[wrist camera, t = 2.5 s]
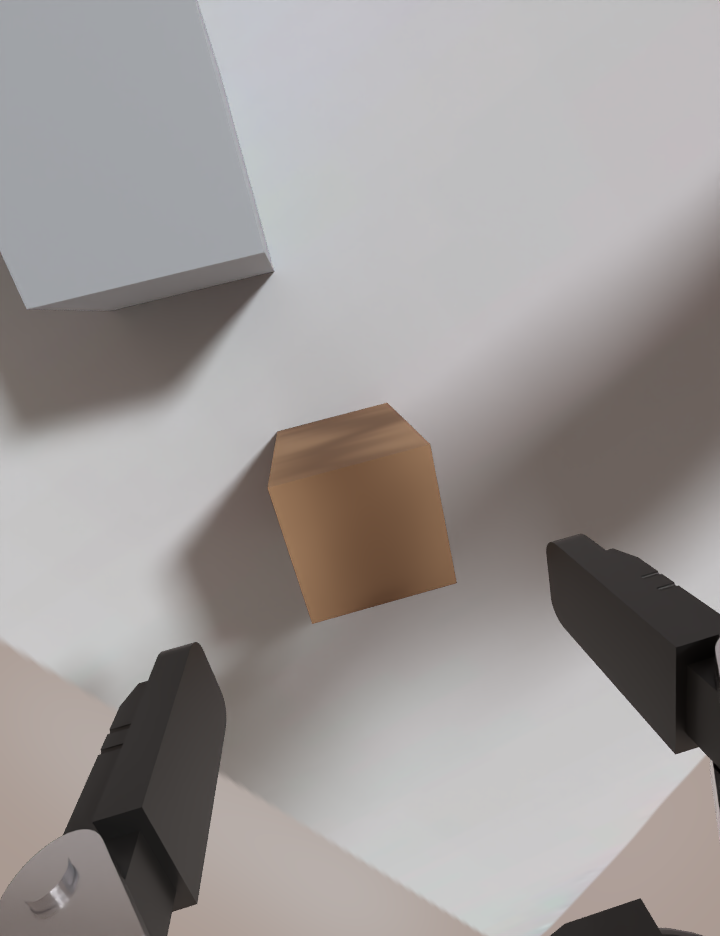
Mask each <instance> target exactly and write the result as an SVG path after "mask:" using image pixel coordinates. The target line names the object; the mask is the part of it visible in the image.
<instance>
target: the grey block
mask: <svg viewBox="0 0 720 936" xmlns="http://www.w3.org/2000/svg"><path fill="white" fill-rule="evenodd" d="M0 252H1V254H2V257H3V259H4V261H5V263H6V265H7V268H8V270H9V272H10V274H11V276H12V279H13V281H14V283H15V285H16V287H17V289H18V292H19V294H20V296H21V298H22V300H23V303H24V305H25V307H26V309H34V310H89V311H113V310H117V309H121V308H125V307H129V306H133V305H137V304H141V303H146V302H150V301H154V300H158V299H162V298H166V297H170V296H174V295H178V294H183V293H187V292H191V291H195V290H199V289H203V288H207V287H211V286H216V285H220V284H224V283H228V282H232V281H236V280H240V279H244V278H249V277H253V276H257V275H261V274H265V273H269V272H273V271H274V268H273V264H272V261H271V257H270V253H269V250H268V246H267V242H266V239H265V235H264V231H263V228H262V224H261V220H260V217H259V213H258V209H257V206H256V202H255V198H254V195H253V191H252V187H251V184H250V180H249V176H248V173H247V169H246V166H245V162H244V158H243V155H242V151H241V147H240V144H239V140H238V136H237V133H236V129H235V125H234V122H233V118H232V114H231V111H230V107H229V103H228V100H227V96H226V92H225V89H224V85H223V81H222V78H221V74H220V71H219V67H218V64H217V61H216V58H215V55H214V52H213V49H212V45H211V42H210V39H209V36H208V33H207V30H206V26H205V23H204V20H203V17H202V14H201V11H200V8H199V4H198V1H197V0H0Z"/></svg>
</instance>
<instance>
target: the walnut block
mask: <svg viewBox="0 0 720 936" xmlns="http://www.w3.org/2000/svg"><path fill="white" fill-rule="evenodd" d="M268 491H269V494H270V497H271V500H272V503H273V506H274V509H275V512H276V515H277V518H278V521H279V524H280V527H281V530H282V533H283V537H284V540H285V543H286V546H287V549H288V552H289V555H290V558H291V561H292V564H293V567H294V570H295V573H296V576H297V579H298V582H299V585H300V588H301V591H302V594H303V597H304V600H305V603H306V606H307V609H308V612H309V615H310V618H311V621H312V624H314V623H317V622H321V621H324V620H328V619H331V618H335V617H338V616H342V615H345V614H349V613H352V612H356V611H360V610H363V609H367V608H370V607H374V606H377V605H381V604H384V603H388V602H391V601H395V600H398V599H402V598H405V597H409V596H413V595H416V594H420V593H423V592H427V591H430V590H434V589H437V588H441V587H444V586H448V585H451V584H455V583H457V582H456V577H455V572H454V566H453V561H452V556H451V551H450V546H449V540H448V535H447V530H446V525H445V519H444V514H443V509H442V504H441V499H440V493H439V488H438V483H437V478H436V473H435V467H434V462H433V457H432V452H431V446H430V444H429V443H428V442H427V441H426V440H425V439H424V438H423V437H422V436H421V435H420V434H419V433H418V432H417V431H416V430H415V429H414V428H413V427H412V426H411V425H410V424H409V423H408V422H407V421H406V420H405V419H403V418H402V417H401V416H400V415H399V414H398V413H397V412H396V411H395V410H394V409H393V408H392V407H391V406H390V405H389V404H388V403H384V404H381V405H377V406H373V407H369V408H365V409H362V410H358V411H354V412H350V413H346V414H343V415H339V416H335V417H331V418H327V419H323V420H320V421H316V422H312V423H308V424H304V425H301V426H297V427H293V428H289V429H285V430H281V431H278V432H277V436H276V442H275V448H274V453H273V459H272V465H271V470H270V476H269V482H268Z"/></svg>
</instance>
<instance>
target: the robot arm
mask: <svg viewBox="0 0 720 936" xmlns="http://www.w3.org/2000/svg"><path fill="white" fill-rule="evenodd" d="M546 553H547V563H548V572H549V582H550V591H551V600H552V605H553V608H554V611H555V613H556V615H557V617H558V619H559V621H560V623H561V624H562V626H563V627H564V628H565V629H566V630H567V632H568V633H569V634H570V635H571V636H572V637H573V638H574V639H575V641H576V642H577V643H578V644H579V645H580V646H581V647H582V649H583V650H584V651H585V652H586V653H587V654H588V655H589V657H590V658H591V659H592V660H593V661H594V662H595V663H596V665H597V666H598V667H599V668H600V669H601V670H602V671H603V672H604V674H605V675H606V676H607V677H608V678H609V679H610V680H611V682H612V683H613V684H614V685H615V686H616V687H617V688H618V690H619V691H620V692H621V693H622V694H623V695H624V696H625V698H626V699H627V700H628V701H629V702H630V703H631V704H632V706H633V707H634V708H635V709H636V710H637V711H638V712H639V713H640V715H641V716H642V717H643V718H644V719H645V720H646V721H647V723H648V724H649V725H650V726H651V727H652V728H653V729H654V731H655V732H656V733H657V734H658V735H659V736H660V737H661V739H662V740H663V741H664V742H665V743H666V744H667V745H668V747H669V748H670V749H671V750H672V751H673V752H674V753H675V754H678V753H681V752H685V751H688V750H691V749H694V748H697V747H700V749H701V750H702V751H703V752H704V753H705V754H706V755H707V756H708V757H709V758H710V759H711V761H710V774H711V781H712V788H713V796H714V803H715V810H716V818H717V825H718V832H719V840H720V614H719V613H717V612H716V611H715V610H713V609H712V608H710V607H709V606H707V605H706V604H704V603H703V602H702V601H700V600H699V599H697V598H696V597H694V596H693V595H691V594H690V593H689V592H687V591H686V590H684V589H683V588H681V587H680V586H676V585H675V584H674V582H673V581H671V580H670V579H668V578H667V577H666V576H664V575H663V574H659V573H658V571H657V570H655V569H654V568H653V567H651V566H650V565H648V564H647V563H645V562H644V561H642V560H641V559H640V558H638V557H635V556H632V555H630V554H627V553H624V552H621V551H618V550H616V549H609V550H605V549H603V548H602V547H600V546H599V545H598V544H596V543H595V542H594V541H592V540H591V539H590V538H588V537H587V536H585V535H583V534H578V535H575V536H571V537H568V538H564V539H561V540H557V541H554V542H550V543H548V545H547V549H546ZM225 728H226V708H225V702H224V698H223V695H222V693H221V690H220V688H219V686H218V683H217V681H216V679H215V676H214V674H213V672H212V669H211V667H210V665H209V662H208V660H207V658H206V655H205V653H204V651H203V649H202V647H201V645H200V644H199V643H197V642H194V643H191V644H187V645H184V646H180V647H177V648H173V649H170V650H166V651H163V652H161V653H160V654H159V655H158V657H157V659H156V662H155V665H154V667H153V670H152V672H151V675H150V677H149V680H148V681H146V682H142V683H139V684H138V685H137V686H136V687H135V689H134V690H133V691H132V692H131V693H130V695H129V696H128V697H127V698H126V700H125V701H124V702H123V703H122V704H121V706H120V707H119V710H118V712H117V714H116V716H115V719H114V721H113V723H112V725H111V728H110V734H108V735H107V737H106V739H105V741H104V743H103V746H102V748H101V754H100V755H98V757H97V759H96V762H95V764H94V766H93V768H92V771H91V773H90V775H89V777H88V780H87V782H86V785H85V786H84V789H83V791H82V793H81V796H80V798H79V800H78V802H77V804H76V807H75V809H74V812H73V814H72V816H71V818H70V820H69V823H68V825H67V827H66V829H65V832H64V834H63V836H61V837H59V838H57V839H56V840H54V841H52V842H51V843H50V844H48V845H47V846H45V847H44V848H43V849H41V850H40V851H39V852H38V853H37V854H36V855H35V856H33V857H32V858H31V859H30V860H29V861H28V862H27V863H26V864H25V865H24V866H23V867H22V869H21V870H20V871H19V872H18V874H17V875H16V876H15V877H14V879H13V880H12V881H11V883H10V884H9V886H8V887H7V889H6V891H5V892H4V894H3V895H2V897H1V900H0V936H167V934H168V929H169V924H170V919H171V914H172V912H173V911H176V910H179V909H182V908H186V907H189V906H192V905H195V904H197V901H198V895H199V889H200V883H201V877H202V870H203V864H204V858H205V852H206V846H207V840H208V833H209V827H210V821H211V815H212V809H213V802H214V796H215V790H216V784H217V778H218V772H219V765H220V759H221V753H222V747H223V741H224V735H225ZM551 936H702V935H699V934H696V933H692V932H687V931H682V930H676V929H671V928H658V927H657V925H656V923H655V922H654V920H653V918H652V917H651V915H650V913H649V912H648V910H647V908H646V907H645V905H644V903H643V902H642V900H641V899H637V900H635V901H631V902H628V903H625V904H623V905H619V906H616V907H613V908H610V909H607V910H604V911H601V912H599V913H596V914H593V915H590V916H587V917H584V918H581V919H578V920H575V921H572V922H569V923H566V924H564V925H563V926H562V927H561V928H559V929H558V930H557V931H556V932H554V933H553V934H552V935H551Z"/></svg>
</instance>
